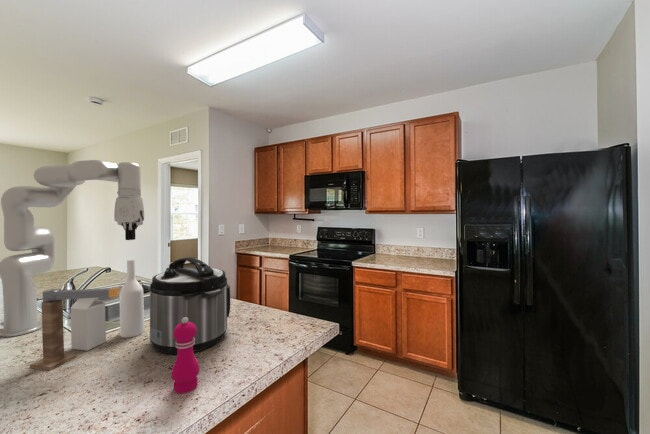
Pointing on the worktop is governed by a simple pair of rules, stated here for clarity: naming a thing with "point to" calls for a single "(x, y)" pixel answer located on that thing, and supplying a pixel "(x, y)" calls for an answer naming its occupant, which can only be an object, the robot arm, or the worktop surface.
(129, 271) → the bottle
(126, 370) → the worktop surface
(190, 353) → the pepper mill
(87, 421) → the worktop surface
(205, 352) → the worktop surface
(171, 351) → the pressure cooker
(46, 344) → the gate post
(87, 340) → the milk carton
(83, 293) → the arm
